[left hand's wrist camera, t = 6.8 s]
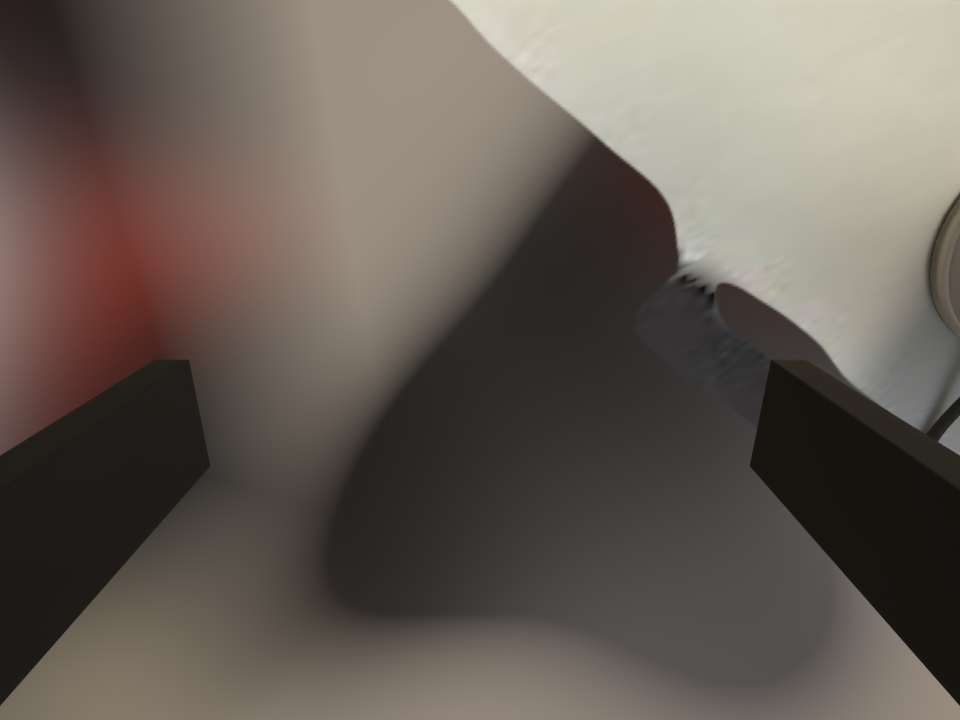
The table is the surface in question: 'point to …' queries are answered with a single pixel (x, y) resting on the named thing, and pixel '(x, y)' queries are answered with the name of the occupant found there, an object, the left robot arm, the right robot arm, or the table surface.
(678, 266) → the table surface
